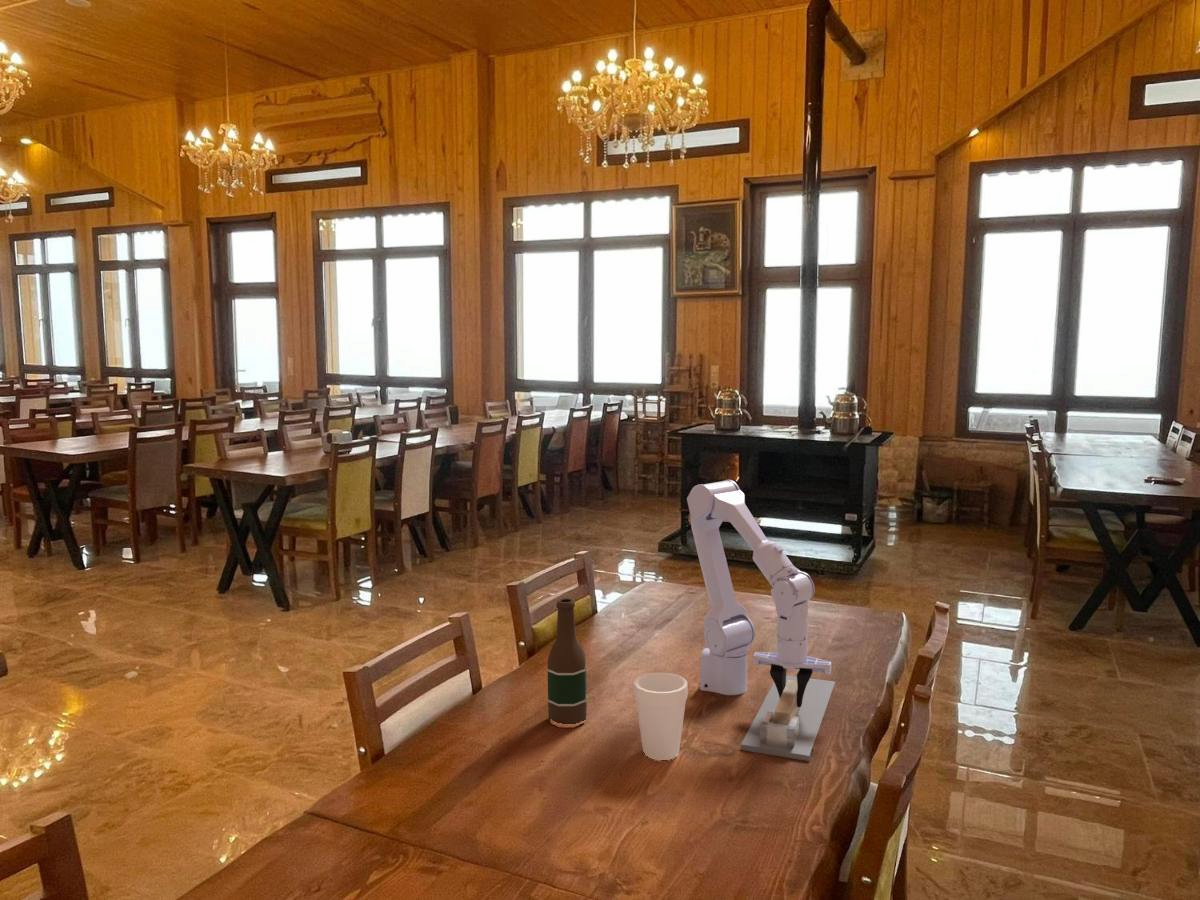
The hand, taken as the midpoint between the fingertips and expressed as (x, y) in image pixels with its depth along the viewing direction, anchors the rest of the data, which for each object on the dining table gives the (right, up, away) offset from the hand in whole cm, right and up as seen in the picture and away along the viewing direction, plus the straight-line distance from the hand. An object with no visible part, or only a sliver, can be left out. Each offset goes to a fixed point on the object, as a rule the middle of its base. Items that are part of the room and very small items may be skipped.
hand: (791, 704), depth 165 cm
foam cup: (-26, -5, -13) cm, 30 cm away
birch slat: (-1, -2, -3) cm, 4 cm away
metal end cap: (-4, -3, -11) cm, 12 cm away
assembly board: (0, -3, +1) cm, 3 cm away
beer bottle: (-43, -4, 0) cm, 43 cm away
